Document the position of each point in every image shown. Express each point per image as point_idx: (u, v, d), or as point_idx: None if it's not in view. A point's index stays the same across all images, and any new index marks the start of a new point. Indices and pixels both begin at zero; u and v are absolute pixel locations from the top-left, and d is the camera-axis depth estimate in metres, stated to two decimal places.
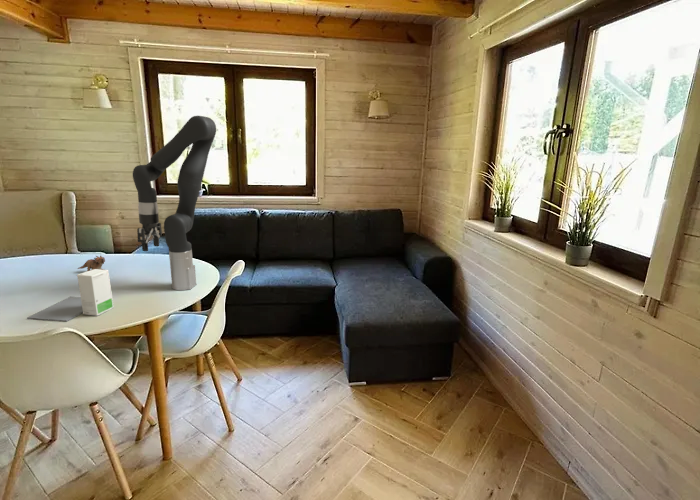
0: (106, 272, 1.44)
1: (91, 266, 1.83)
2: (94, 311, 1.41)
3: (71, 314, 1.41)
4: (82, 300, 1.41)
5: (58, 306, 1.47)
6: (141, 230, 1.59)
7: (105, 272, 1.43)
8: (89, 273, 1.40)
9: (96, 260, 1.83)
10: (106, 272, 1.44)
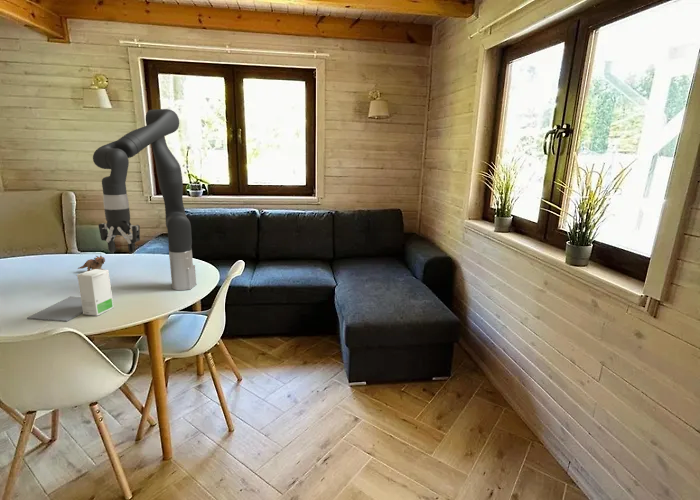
0: (106, 272, 1.44)
1: (91, 266, 1.83)
2: (94, 311, 1.41)
3: (71, 314, 1.41)
4: (82, 300, 1.41)
5: (58, 306, 1.47)
6: (138, 227, 1.36)
7: (105, 272, 1.43)
8: (89, 273, 1.40)
9: (96, 260, 1.83)
10: (106, 272, 1.44)
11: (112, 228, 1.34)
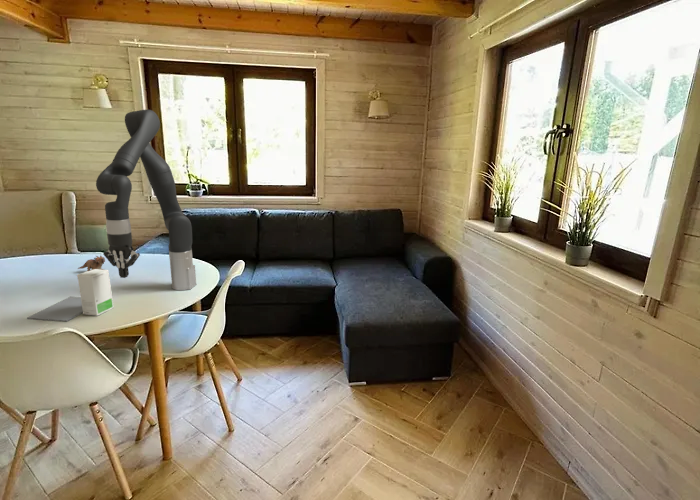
0: (106, 272, 1.44)
1: (91, 266, 1.83)
2: (94, 311, 1.41)
3: (71, 314, 1.41)
4: (82, 300, 1.41)
5: (58, 306, 1.47)
6: (138, 256, 1.39)
7: (105, 272, 1.43)
8: (89, 273, 1.40)
9: (96, 260, 1.83)
10: (106, 272, 1.44)
11: (114, 252, 1.37)
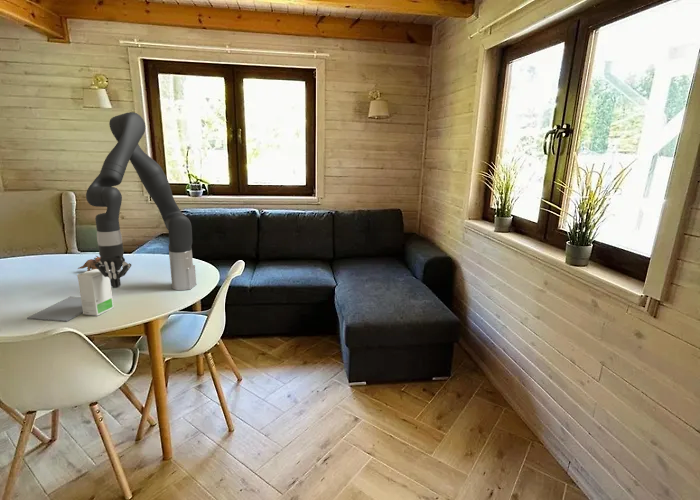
0: None
1: (91, 266, 1.83)
2: (94, 311, 1.41)
3: (71, 314, 1.41)
4: (82, 300, 1.41)
5: (58, 306, 1.47)
6: (129, 267, 1.40)
7: None
8: (89, 273, 1.40)
9: (96, 260, 1.83)
10: None
11: (106, 263, 1.38)
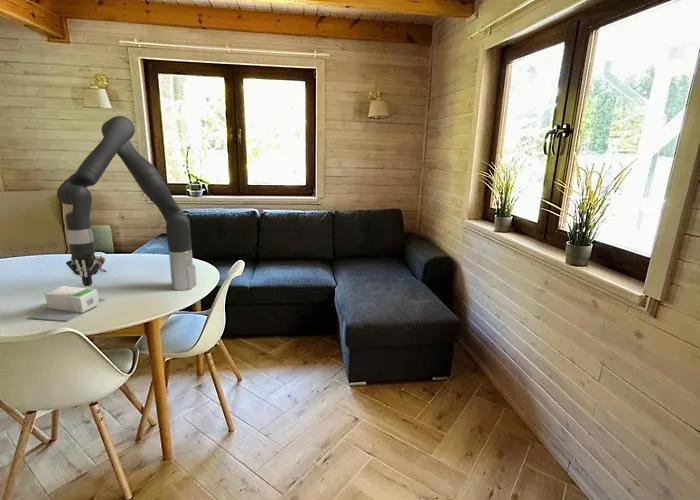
0: (61, 286, 1.49)
1: None
2: (75, 299, 1.41)
3: (71, 314, 1.41)
4: (69, 309, 1.43)
5: None
6: (101, 265, 1.41)
7: (60, 287, 1.49)
8: None
9: None
10: (61, 286, 1.49)
11: (77, 261, 1.38)
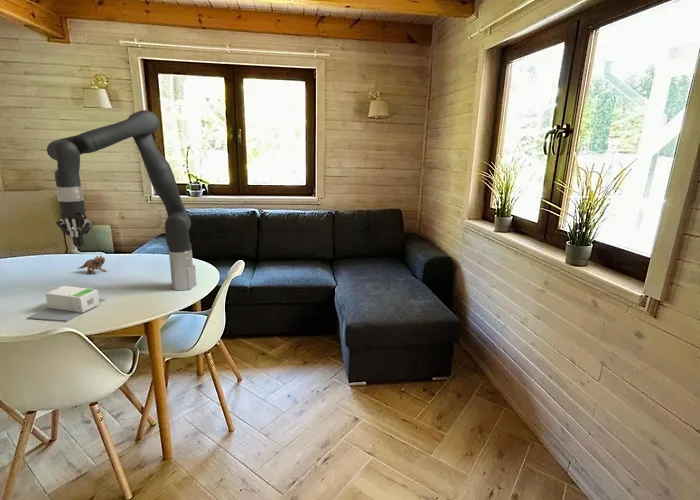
0: (62, 286, 1.49)
1: (91, 266, 1.83)
2: (75, 299, 1.41)
3: (71, 314, 1.41)
4: (69, 309, 1.43)
5: None
6: (91, 224, 1.38)
7: (61, 287, 1.49)
8: None
9: (96, 260, 1.83)
10: None
11: (67, 220, 1.35)
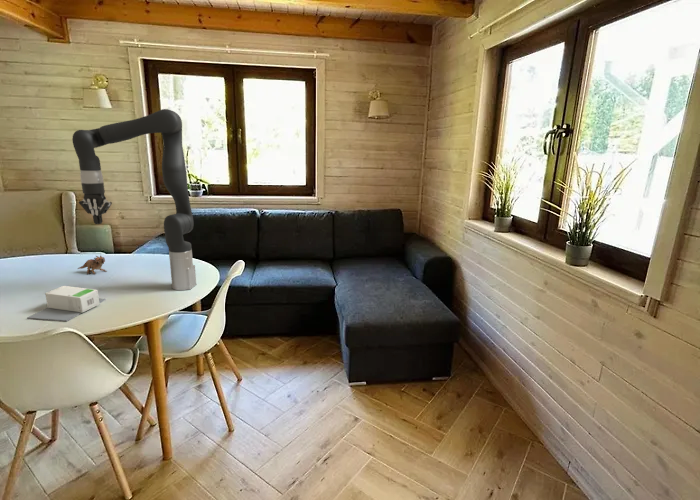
0: (62, 286, 1.49)
1: (91, 266, 1.83)
2: (75, 299, 1.41)
3: (71, 314, 1.41)
4: (69, 309, 1.43)
5: None
6: (110, 204, 1.57)
7: (61, 287, 1.49)
8: None
9: (96, 260, 1.83)
10: None
11: (88, 200, 1.54)
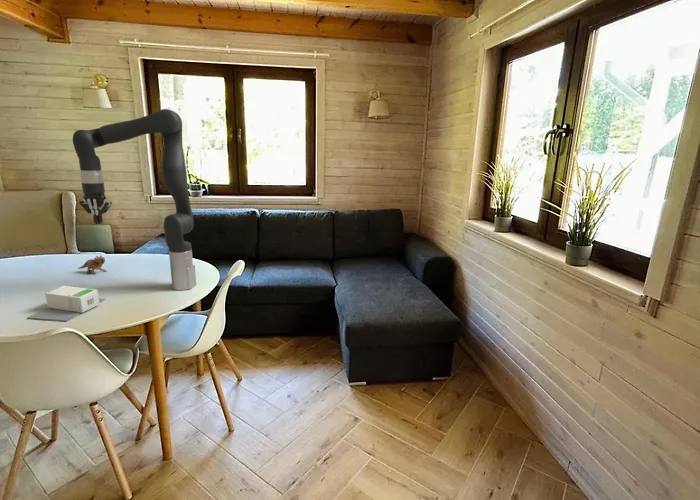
0: (62, 286, 1.49)
1: (91, 266, 1.83)
2: (75, 299, 1.41)
3: (71, 314, 1.41)
4: (69, 309, 1.43)
5: None
6: (110, 204, 1.57)
7: (61, 287, 1.49)
8: None
9: (96, 260, 1.83)
10: None
11: (89, 200, 1.54)
